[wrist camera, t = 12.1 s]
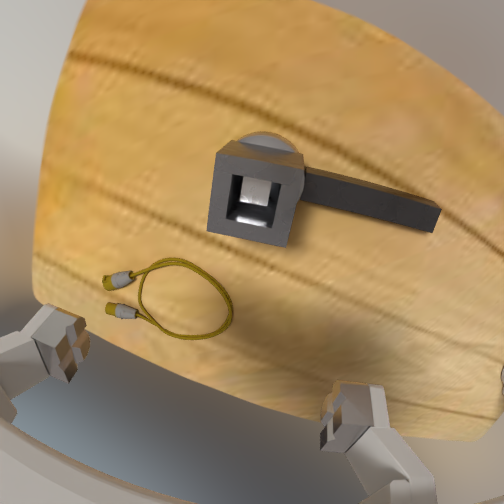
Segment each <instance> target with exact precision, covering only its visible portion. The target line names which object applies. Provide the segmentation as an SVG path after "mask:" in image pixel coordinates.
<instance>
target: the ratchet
mask: <svg viewBox="0 0 504 504" xmlns="http://www.w3.org/2000/svg"><path fill="white" fill-rule="evenodd" d="M237 141H240V142H245V143H251V144H256V145H262V146H267V147H272V148H277V149H282V150H286V151H291V152H296V153H299V152H298V150H297V149H296V147H295V146H294V145H293V144H292V143H291V142H290V141H289V140H287V139H286V138H284V137H282V136H281V135H278V134H275V133H272V132H254V133H250V134H247V135H245V136H243V137H241V138H240V139H238V140H237ZM280 185H281V184H280V183H275V182H270V181H265V180H260V179H255V178H250V177H245V176H241V180H240V186H239V193H238V195H240V201H243V202H248V203H253V204H258V205H262V206H267V204H268V201H271V202H276V203H277V200H278V195H279V190H280ZM299 198H300V200H303V201H308V202H312V203H317V204H321V205H325V206H330V207H334V208H338V209H342V210H346V211H351V212H355V213H359V214H363V215H367V216H371V217H375V218H378V219H382V220H386V221H390V222H394V223H397V224H401V225H405V226H409V227H412V228H416V229H419V230H423V231H427V232H430V233H433V230H434V228H435V225H436V223H437V220H438V217H439V215H440V212H441V210H442V209H441V208H440V207H439V206H438V205H437V204H436V203H435V202H434V201H431V200H428V199H425V198H422V197H419V196H415V195H412V194H409V193H406V192H402V191H399V190H396V189H392V188H389V187H385V186H382V185H378V184H374V183H371V182H367V181H363V180H360V179H356V178H352V177H348V176H344V175H340V174H336V173H332V172H328V171H324V170H319V169H315V168H311V167H306V169H305V173H304V174H303V179H302V183H301V187H300V191H299V196H298V200H299ZM298 200H297V202H298Z"/></svg>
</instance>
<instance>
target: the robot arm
mask: <svg viewBox="0 0 504 504" xmlns="http://www.w3.org/2000/svg"><path fill="white" fill-rule="evenodd" d="M86 326H87V325H86V321H85V318H83V317H81V316H78V315H76V314H73V313H71V312H68V311H66V310H63V309H61V308H59V307H56V306H54V305H51V304H49V303H48V304H45V305H44V306H43V307H42V308H41V309H40V310H39V311H38V312H37V313H36V315H35V316H34V317H33V318H32V319H31V320H30V321H29V323H28V324H27V325H26V326H25V327H24V329H22V331H21V332H18V331H16V332H13V333H11V334H8V335H6V336H3V337H1V338H0V504H197V503H193V502H189V501H185V500H181V499H178V498H174V497H171V496H167V495H164V494H161V493H157V492H154V491H151V490H148V489H145V488H142V487H139V486H136V485H133V484H131V483H128V482H125V481H123V480H120V479H118V478H115V477H113V476H110V475H108V474H105V473H103V472H100V471H98V470H96V469H94V468H91V467H89V466H87V465H85V464H83V463H80V462H78V461H76V460H74V459H72V458H70V457H68V456H66V455H64V454H62V453H60V452H58V451H56V450H54V449H53V448H51V447H49V446H47V445H45V444H43V443H42V442H40V441H38V440H36V439H35V438H33V437H31V436H30V435H28V434H26V433H25V432H23V431H21V430H20V429H18V428H17V427H15V426H14V425H12V424H11V423H12V421H13V420H14V418H15V416H16V414H17V410H16V408H15V407H14V405H13V404H12V402H11V401H10V400H11V399H13V398H15V397H16V396H18V395H20V394H21V393H23V392H24V391H26V390H28V389H29V388H31V387H33V386H34V385H36V384H38V383H39V382H41V381H43V380H44V379H46V378H48V377H49V375H50V376H52V377H54V378H57V379H59V380H61V381H63V382H66V383H68V384H69V383H70V381H71V379H72V378H73V376H74V375H75V373H76V372H77V370H78V369H77V363H80V362H82V361H84V359H85V358H86V356H87V354H88V351H89V348H90V338H89V335H88V333H87V332H86V331H85V330H84V329H85V327H86ZM501 379H502V382H503V384H504V369H503V371H502V376H501ZM502 394H503V395H504V387H503V391H502ZM321 423H322V424H323V426H324V429H323V430H322V432H321V433H320V451H327V452H337V453H345V456H346V458H347V459H348V461H349V463H350V465H351V466H352V468H353V470H354V472H355V474H356V475H357V477H358V479H359V480H360V482H361V484H362V485H363V487H364V489H365V491H366V492H367V494H368V496H369V497H368V498H366V499H364V500H363V501H361V502H360V503H358V504H437V496H436V488H435V480H434V476H433V475H432V474H431V473H430V471H429V470H428V469H427V467H426V466H425V465H424V464H423V463H422V461H421V460H420V459H419V458H418V456H417V455H416V454H415V453H414V452H413V450H412V449H411V448H410V447H409V445H408V444H407V443H406V442H405V441H404V439H403V438H402V437H401V436H400V434H399V433H398V432H397V431H396V430H395V428H390V423H389V416H388V410H387V404H386V398H385V392H384V387H383V386H382V385H376V384H366V383H360V382H351V381H343V380H337V381H335V383H334V384H333V386H332V393H330V394H328V395H327V396H326V398H325V400H324V402H323V405H322V409H321ZM476 504H504V495H503V496H500V497H497V498H493V499H490V500H487V501H483V502H480V503H476Z"/></svg>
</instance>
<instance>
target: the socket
mask: <svg viewBox="0 0 504 504" xmlns="http://www.w3.org/2000/svg"><path fill="white" fill-rule="evenodd" d="M303 174H304V159H303V154H300V153H296V152H291V151H286V150H282V149H277V148H272V147H267V146H262V145H256V144H251V143H245V142H240V141H234V140H231V141H230V142H229V143H227V144H226V145H225V146H224V147H223V148H222V149H220V150H219V151H218V152H217V153H216V159H215V167H214V174H213V182H212V190H211V198H210V206H209V215H208V223H207V231H208V232H213V233H218V234H223V235H228V236H233V237H237V238H242V239H247V240H252V241H256V242H261V243H266V244H271V245H275V246H280V247H285V248H286V245H287V241H288V237H289V233H290V229H291V225H292V221H293V217H294V213H295V208H296V204H297V200H298V196H299V191H300V187H301V183H302V179H303ZM241 176H245V177H250V178H255V179H260V180H265V181H270V182H275V183H280V184H281V185H280V190H279V195H278V200H277V203H276V202H271V201H268V204H267V206H262V205H258V204H253V203H248V202H243V201H240V195H238V193H239V186H240V180H241Z"/></svg>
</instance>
